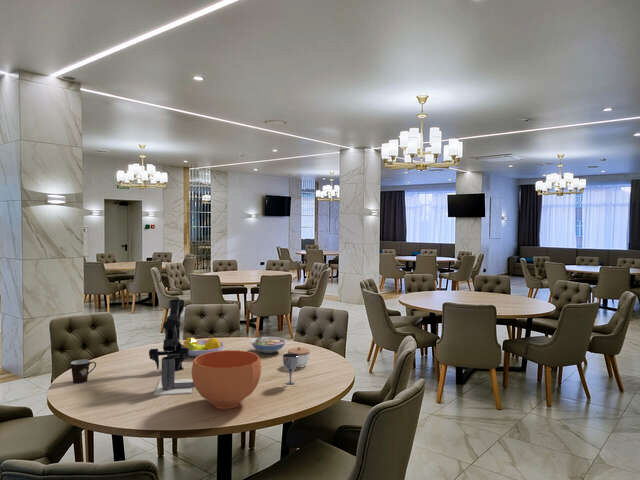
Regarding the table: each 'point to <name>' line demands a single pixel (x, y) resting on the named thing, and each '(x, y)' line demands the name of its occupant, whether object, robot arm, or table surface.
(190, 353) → the fruit bowl
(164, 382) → the loose hinge half
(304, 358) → the lidded bowl
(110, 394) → the table surface
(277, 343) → the ramen bowl
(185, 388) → the hinge base
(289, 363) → the wine glass
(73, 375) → the coffee mug
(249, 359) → the flowerpot
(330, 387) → the table surface
